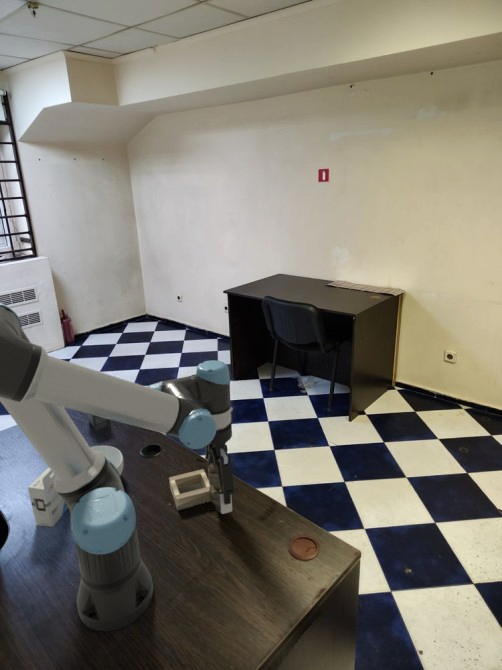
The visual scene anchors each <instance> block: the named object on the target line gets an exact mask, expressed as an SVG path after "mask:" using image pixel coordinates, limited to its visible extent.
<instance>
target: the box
mask: <svg viewBox="0 0 502 670" xmlns="http://www.w3.org/2000/svg"><path fill="white" fill-rule="evenodd" d="M87 418H88V419H87V420H88V422H89V423H90V425H91V426H92V427H93V429H94V430H96V431H97V430H100V429H104V428H106V427H109V426H111V419H107V418H104V417H100V416H96V415H92V414H88V413H87Z"/></svg>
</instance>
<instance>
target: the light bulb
mask: <svg viewBox="0 0 502 670" xmlns="http://www.w3.org/2000/svg"><path fill="white" fill-rule="evenodd" d="M208 469H209V471H208ZM207 472H208V480H209V483H210V485H212V486H211V487H210V489H209V494H210V500H211V501H210V502H211V503H213V504H214V509H215V511H217V512H218V513H221V503H220V495H219V493H218V492H220V490H221V487H220V481H219V476H218V471H217V466H216V465H215V464H214V462H213V463H211V464H209V466H208V465H207Z"/></svg>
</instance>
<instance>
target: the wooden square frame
mask: <svg viewBox="0 0 502 670" xmlns="http://www.w3.org/2000/svg"><path fill="white" fill-rule="evenodd" d="M168 481H169V483H168V484H169V488H170V492H171V495H172V497H173V501H174V505H175V507H176V510H177V511H181V510H185V509H188V508H191V507H192V508H193V507H195V505H196V506H199V505H203V504H206V503H205V502H207V503H210V502H212V501H211V500H210V494H209V489H210V488H209V477H208V476H207V474H206V472H205V469H204V468H202V469H198V470H194V471H190V472H186V473H181V474H179V475H173V476H170V477H168ZM209 501H210V502H209ZM202 503H203V504H202ZM198 504H199V505H198Z"/></svg>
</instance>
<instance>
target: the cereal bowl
mask: <svg viewBox="0 0 502 670" xmlns="http://www.w3.org/2000/svg"><path fill="white" fill-rule="evenodd" d="M89 447H90V448H91V450H96V451H100V452H102V453H103V454H104V456H105V458H106V459H107V460H109V461H110V462H111V463H112V464H113V465H114V466H115V467H116V469H117V470H118V472H119V475H120V476H121V475H122V472H123V470H124V456H123V453H122V452H121V451H120V449H118V448H117V447H113V446H110V445H94V446H89Z"/></svg>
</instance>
